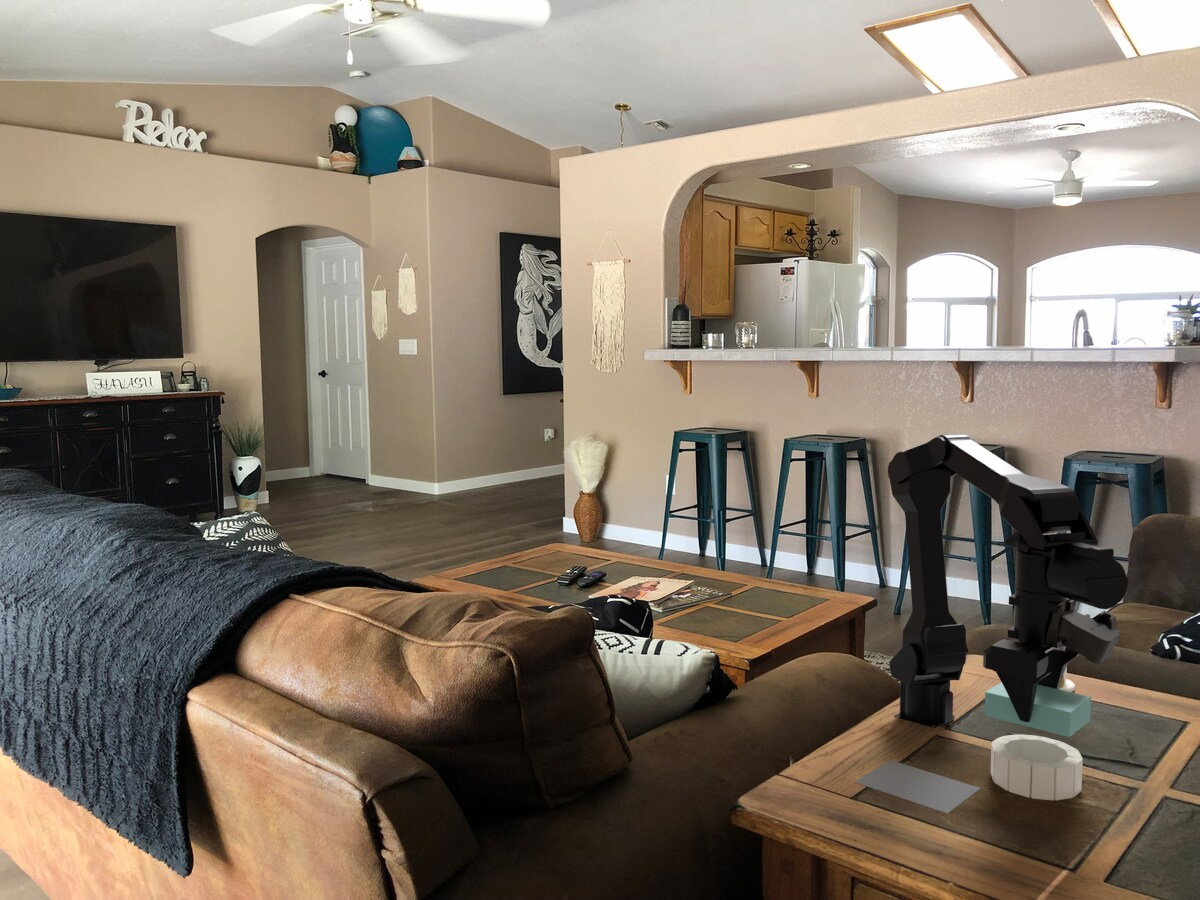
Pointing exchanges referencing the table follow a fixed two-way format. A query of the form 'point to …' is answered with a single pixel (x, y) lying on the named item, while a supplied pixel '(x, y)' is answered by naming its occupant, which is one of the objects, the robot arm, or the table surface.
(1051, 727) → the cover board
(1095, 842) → the table surface
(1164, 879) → the table surface
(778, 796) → the table surface
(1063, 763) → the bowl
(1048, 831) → the table surface
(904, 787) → the mat
